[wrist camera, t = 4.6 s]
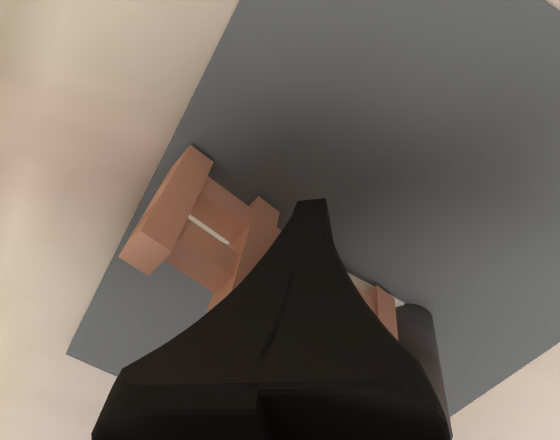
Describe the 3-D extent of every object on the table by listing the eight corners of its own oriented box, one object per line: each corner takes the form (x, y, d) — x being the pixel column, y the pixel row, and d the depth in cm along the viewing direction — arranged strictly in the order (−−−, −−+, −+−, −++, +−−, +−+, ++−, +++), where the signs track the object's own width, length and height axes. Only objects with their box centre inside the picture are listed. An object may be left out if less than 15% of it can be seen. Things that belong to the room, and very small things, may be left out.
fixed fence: (290, 441, 22) (278, 553, 19) (259, 427, 22) (240, 538, 19) (441, 310, 17) (465, 433, 13) (403, 290, 17) (416, 410, 13)
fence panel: (394, 298, 16) (404, 407, 13) (371, 313, 17) (375, 422, 14) (190, 144, 14) (140, 230, 11) (171, 167, 14) (118, 256, 11)
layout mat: (356, 474, 23) (356, 481, 23) (69, 348, 21) (64, 355, 20) (785, 176, 13) (795, 183, 13) (321, -163, 10) (320, -163, 10)
